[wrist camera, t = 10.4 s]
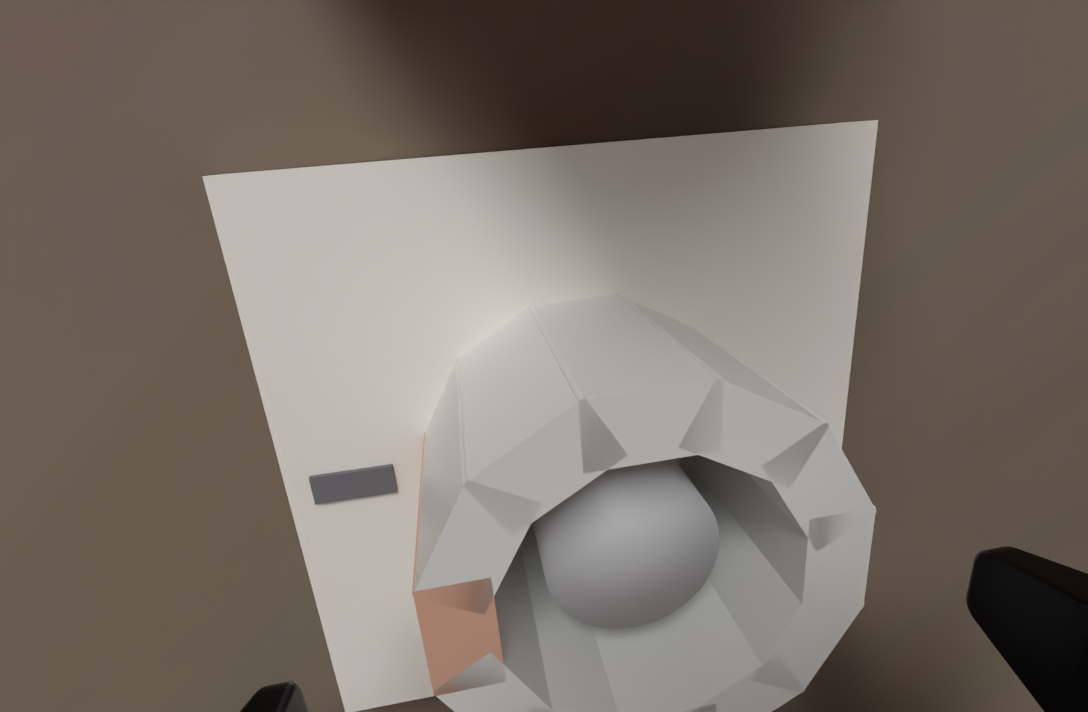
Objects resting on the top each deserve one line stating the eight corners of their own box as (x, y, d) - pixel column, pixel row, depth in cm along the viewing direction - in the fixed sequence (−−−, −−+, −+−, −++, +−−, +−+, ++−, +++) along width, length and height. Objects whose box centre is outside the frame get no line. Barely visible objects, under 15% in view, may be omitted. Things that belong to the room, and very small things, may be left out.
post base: (844, 122, 12) (1062, 106, 8) (800, 591, 16) (927, 748, 12) (224, 174, 10) (74, 190, 6) (351, 677, 15) (314, 891, 10)
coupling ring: (726, 546, 14) (849, 719, 10) (452, 596, 13) (455, 809, 9) (733, 278, 12) (897, 351, 7) (403, 319, 11) (377, 427, 7)
